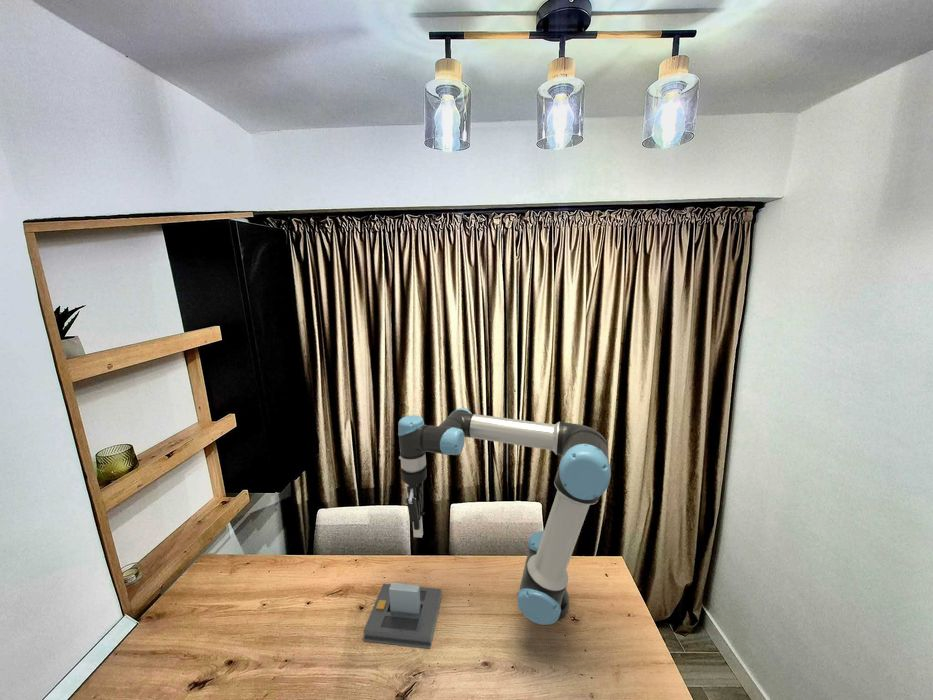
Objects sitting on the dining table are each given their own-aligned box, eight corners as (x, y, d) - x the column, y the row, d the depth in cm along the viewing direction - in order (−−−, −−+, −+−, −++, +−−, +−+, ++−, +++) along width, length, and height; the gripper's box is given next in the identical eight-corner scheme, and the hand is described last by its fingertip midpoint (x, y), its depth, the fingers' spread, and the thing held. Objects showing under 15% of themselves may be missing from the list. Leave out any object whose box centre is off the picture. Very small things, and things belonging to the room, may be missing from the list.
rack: (442, 595, 123) (441, 585, 122) (430, 648, 105) (429, 637, 105) (384, 590, 125) (383, 580, 125) (363, 641, 108) (362, 630, 107)
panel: (420, 612, 116) (419, 585, 114) (419, 619, 113) (417, 592, 111) (393, 609, 117) (391, 582, 115) (390, 616, 115) (389, 589, 113)
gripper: (407, 456, 118) (411, 521, 122) (395, 477, 105) (401, 550, 109) (430, 456, 117) (434, 522, 121) (421, 478, 104) (425, 551, 109)
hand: (418, 535), depth 115 cm, fingers closed
